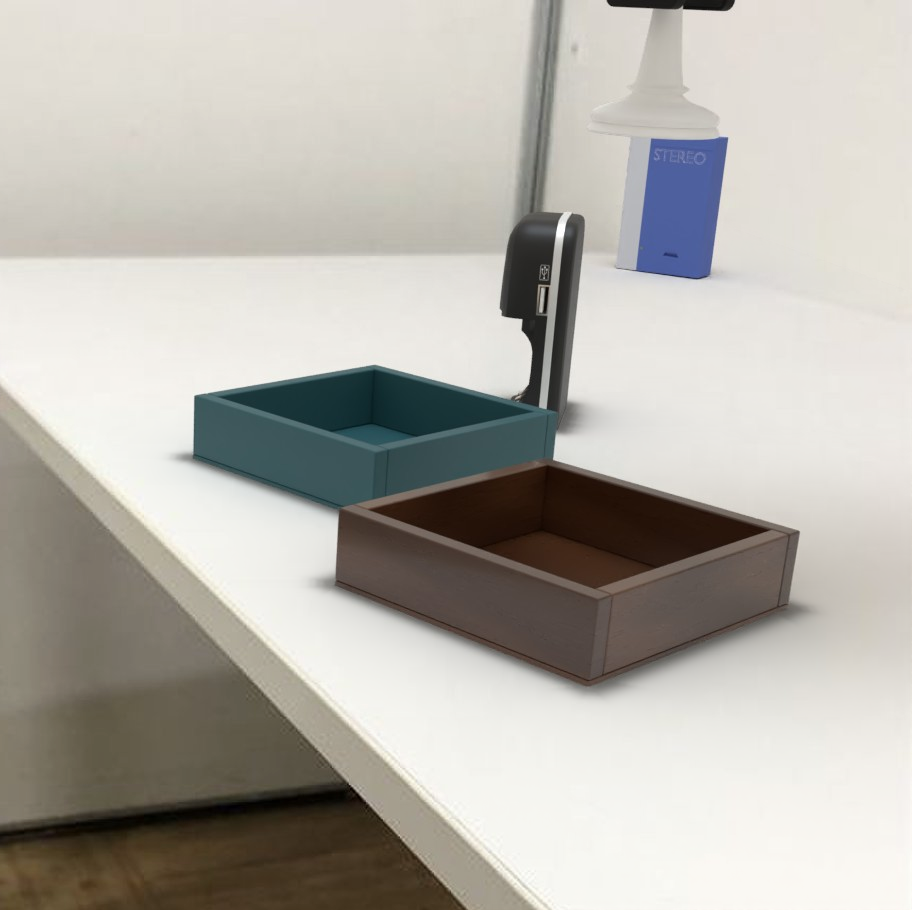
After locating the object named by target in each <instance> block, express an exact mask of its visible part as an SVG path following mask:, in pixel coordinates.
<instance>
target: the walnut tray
mask: <svg viewBox="0 0 912 910" xmlns="http://www.w3.org/2000/svg"><path fill="white" fill-rule="evenodd" d="M337 516H338V518H337V536H336V539H337V541H336V557H335V573H334V579H335V581H334V586H336V587H338V588H341V589H344V590H346V591H349V592H351V593H354V594H356V595H358V596H361V597H363V598H366V599H369V600H371V601H373V602H376V603H379V604H381V605H383V606H385V607H389V608H391V609H393V610H396V611H398V612H400V613H403V614H405V615H408V616H411V617H413V618H416V619H418V620H421V621H423V622H426V623H428V624H430V625H433V626H436V627H438V628H441V629H443V630H445V631H448V632H451V633H452V634H456V635H458V636H460V637H463V638H464V639H465V638H466V639H468V640H470V641H473V642H475V643H478V644H480V645H482V646H485V647H488V648H490V649H492V650H495V651H497V652H500V653H503V654H505V655H508V656H509V657H510V656H511V657H513V658H515V659H517V660H520V661H523V662H525V663H528V664H530V665H533V666H535V667H537V668H540V669H542V670H545V671H547V672H549V673H553V674H555V675H558V676H560V677H562V678H565V679H568V680H570V681H571V682H572V681H573V682H575V683H577V684H579V685H582V686H585V687H592V686H594V685H596V684H599V683H602V682H604V681H607V680H609V679H611V678H614V677H617V676H619V675H622V674H625V673H627V672H630V671H632V670H634V669H637V668H640V667H642V666H645V665H647V664H650V663H652V662H655V661H658V660H660V659H663V658H665V657H669V656H670V655H673V654H676V653H678V652H681V651H683V650H685V649H688V648H690V647H694V646H696V645H698V644H700V643H701V644H702V643H703V642H706V641H709V640H712V639H714V638H716V637H719V636H721V635H723V634H726V633H729V632H732V631H734V630H737V629H739V628H741V627H744V626H746V625H749V624H751V623H752V624H753V623H754V622H757V621H759V620H762V619H764V618H767V617H769V616H772V615H775V614H778V613H780V612H782V611H785V610H788V609H789V604H788V603H789V601H790V596H791V590H792V585H793V584H792V583H793V578H794V571H795V565H796V559H797V553H798V548H799V547H798V546H799V541H800V534H801V531H800V530H798V529H795V528H791V527H789V526H785V525H782V524H778V523H775V522H771V521H767V520H763V519H761V518H756V517H753V516H750V515H747V514H743V513H740V512H736V511H732V510H730V509H726V508H722V507H718V506H715V505H711V504H708V503H706V502H705V503H704V502H702V501H698V500H694V499H691V498H687V497H684V496H680V495H677V494H673V493H670V492H666V491H663V490H659V489H656V488H652V487H649V486H647V485H642V484H639V483H635V482H631V481H628V480H625V479H622V478H618V477H614V476H611V475H607V474H604V473H600V472H597V471H594V470H590V469H587V468H583V467H579V466H577V465H573V464H569V463H565V462H562V461H558V460H555V459H553V460H552V459H548V458H542V459H538V460H535V461H530V462H526V463H522V464H517V465H513V466H509V467H505V468H501V469H497V470H493V471H489V472H485V473H480V474H476V475H472V476H468V477H464V478H460V479H456V480H452V481H448V482H444V483H439V484H435V485H431V486H427V487H423V488H419V489H415V490H411V491H407V492H403V493H398V494H394V495H390V496H386V497H382V498H378V499H374V500H370V501H366V502H362V503H357V504H354V505H349V506H345V507H341V508H339V510H338V515H337Z"/></svg>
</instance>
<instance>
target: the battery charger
mask: <svg viewBox="0 0 912 910" xmlns="http://www.w3.org/2000/svg"><path fill="white" fill-rule="evenodd" d="M585 230H586V220H585V217H584V216H583V215H582V214H580V213H574V211H564V212H551V211H532V212H530V213H527V214H526V215H524V216H523V217H522V218H521V219H520V220H519V221H518V222H517V223H516V224H515V226H514V227H513V229H512V231H511V232H510V234H509V237H508V241H507V246H506V251H505V252H506V253H505V258H504V265H503V274H502V280H501V291H500V299H499V310H501V315H500V316H502V317H504V318H508V319H516V320H521V329H520V330H521V332H522V333H523V334H524V335H525V336H526V338H527V339H528V341H529V343H530V347H531V360H530V361H531V362H530V363H531V364H530V373H529V379H528V384H527V385H526V387H525V388H524V389H522V390H519V391H518V393H517V394H515V395H513V396H511V397H510V399H509V400H513V401H516V402H520V403H524V404H528V405H532V406H536V407H539V408H543V409H547V410H551V411H555V412H558V418H557V428H556V431H557V430H558V429H559V426H560V424H561V421H562V418H563V416H564V413H565V411H566V407H567V404H568V397H569V388H570V387H569V386H570V376H571V368H572V367H571V366H572V356H573V349H574V348H573V347H574V339H575V328H576V321H577V311H578V302H579V301H578V300H579V291H580V281H581V272H582V263H583V254H584V253H583V251H584V243H585Z"/></svg>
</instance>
